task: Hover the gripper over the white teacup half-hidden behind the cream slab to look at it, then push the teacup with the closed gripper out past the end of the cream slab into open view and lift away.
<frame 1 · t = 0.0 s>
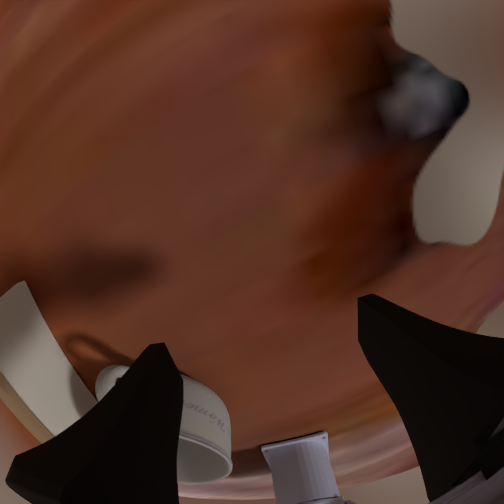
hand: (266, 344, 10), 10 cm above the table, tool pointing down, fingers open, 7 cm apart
teacup: (167, 383, 23), on the table
cream slab: (60, 354, 21), on the table
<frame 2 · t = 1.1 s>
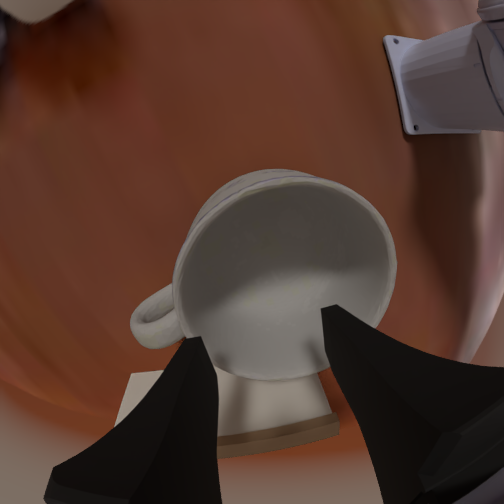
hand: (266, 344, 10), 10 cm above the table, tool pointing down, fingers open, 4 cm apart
teacup: (246, 246, 20), on the table
cream slab: (215, 367, 23), on the table
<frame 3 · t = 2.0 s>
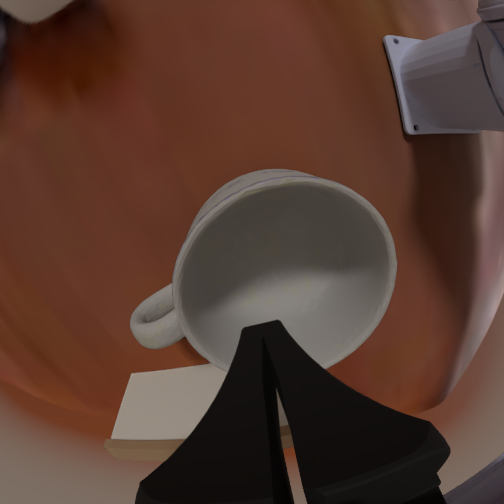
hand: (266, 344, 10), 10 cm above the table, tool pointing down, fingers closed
teacup: (246, 246, 20), on the table
cream slab: (215, 367, 23), on the table
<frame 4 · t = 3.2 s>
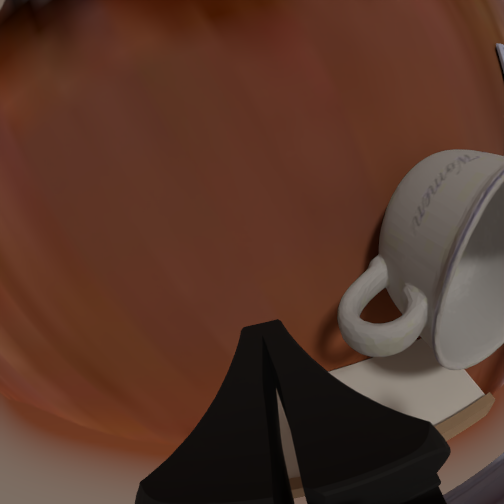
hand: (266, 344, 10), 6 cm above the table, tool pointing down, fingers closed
teacup: (407, 231, 16), on the table
cream slab: (345, 371, 19), on the table
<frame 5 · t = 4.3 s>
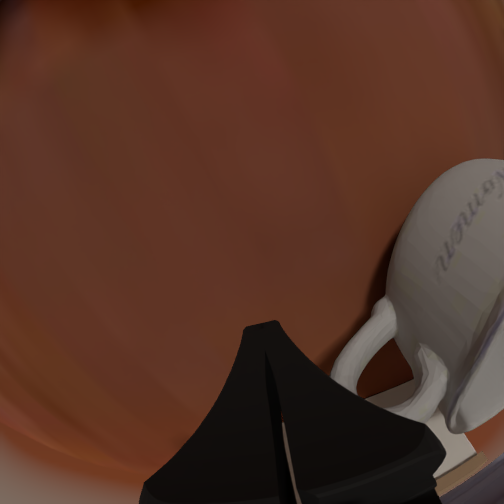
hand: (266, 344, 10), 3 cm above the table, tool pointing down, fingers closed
teacup: (419, 258, 13), on the table, touching gripper
cream slab: (317, 418, 16), on the table
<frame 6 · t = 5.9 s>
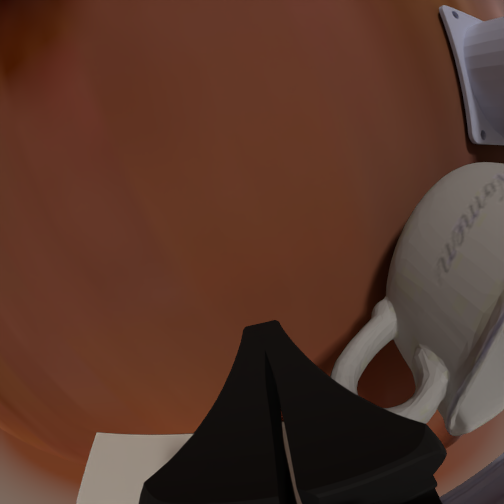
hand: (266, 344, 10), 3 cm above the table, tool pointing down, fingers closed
teacup: (419, 260, 13), on the table, touching gripper
cream slab: (196, 437, 16), on the table
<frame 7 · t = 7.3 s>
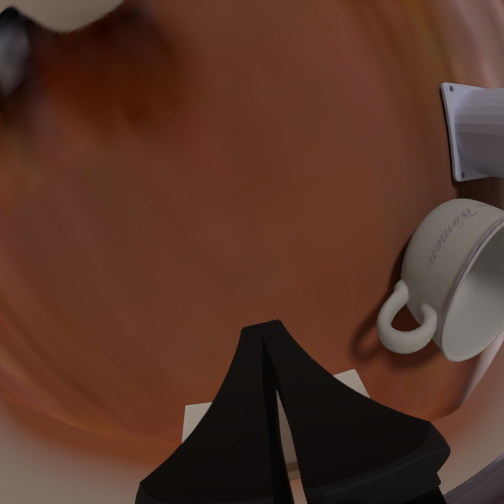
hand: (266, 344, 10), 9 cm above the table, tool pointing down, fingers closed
teacup: (420, 257, 20), on the table
cream slab: (271, 395, 24), on the table
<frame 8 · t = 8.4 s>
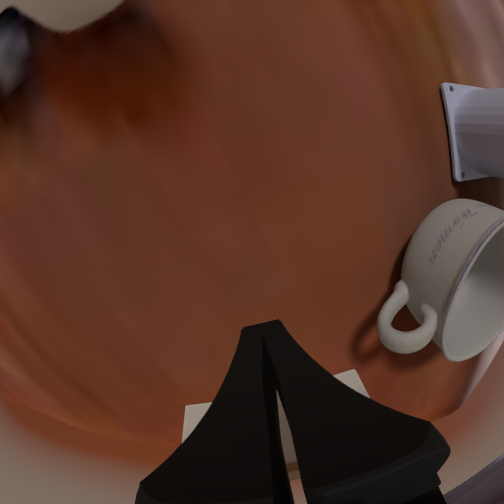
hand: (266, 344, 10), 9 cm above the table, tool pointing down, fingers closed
teacup: (420, 257, 20), on the table
cream slab: (271, 395, 24), on the table
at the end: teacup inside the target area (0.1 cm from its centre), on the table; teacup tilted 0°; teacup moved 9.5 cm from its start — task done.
